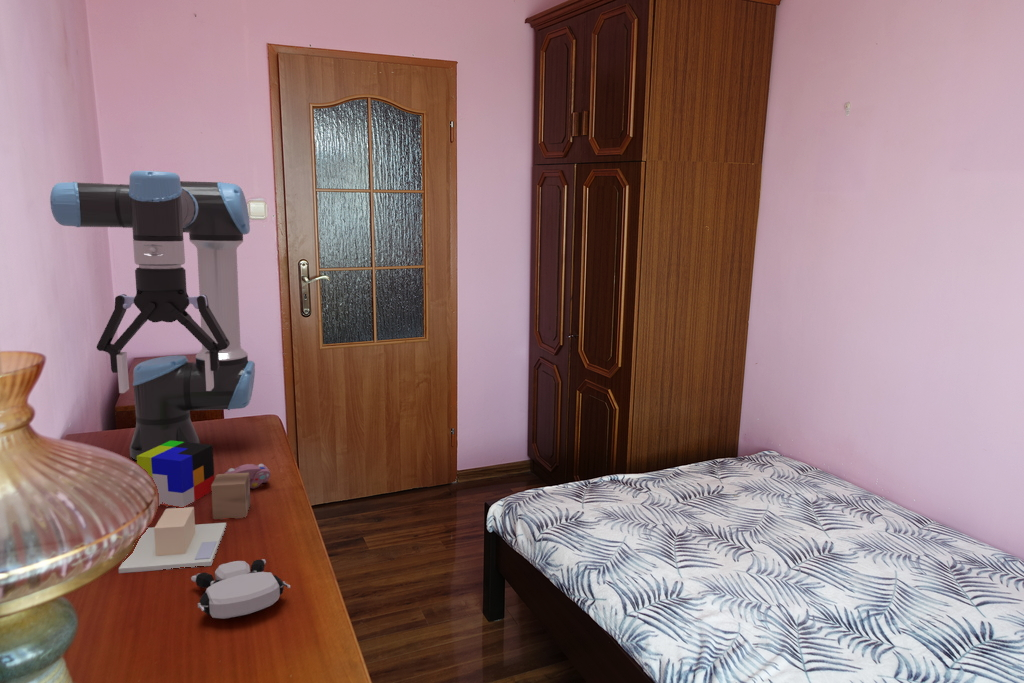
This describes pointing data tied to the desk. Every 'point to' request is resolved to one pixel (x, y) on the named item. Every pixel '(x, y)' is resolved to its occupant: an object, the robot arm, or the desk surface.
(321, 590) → the desk surface
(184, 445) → the puzzle toy
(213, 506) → the walnut block
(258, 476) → the video game controller
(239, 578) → the robot toy
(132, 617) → the desk surface
